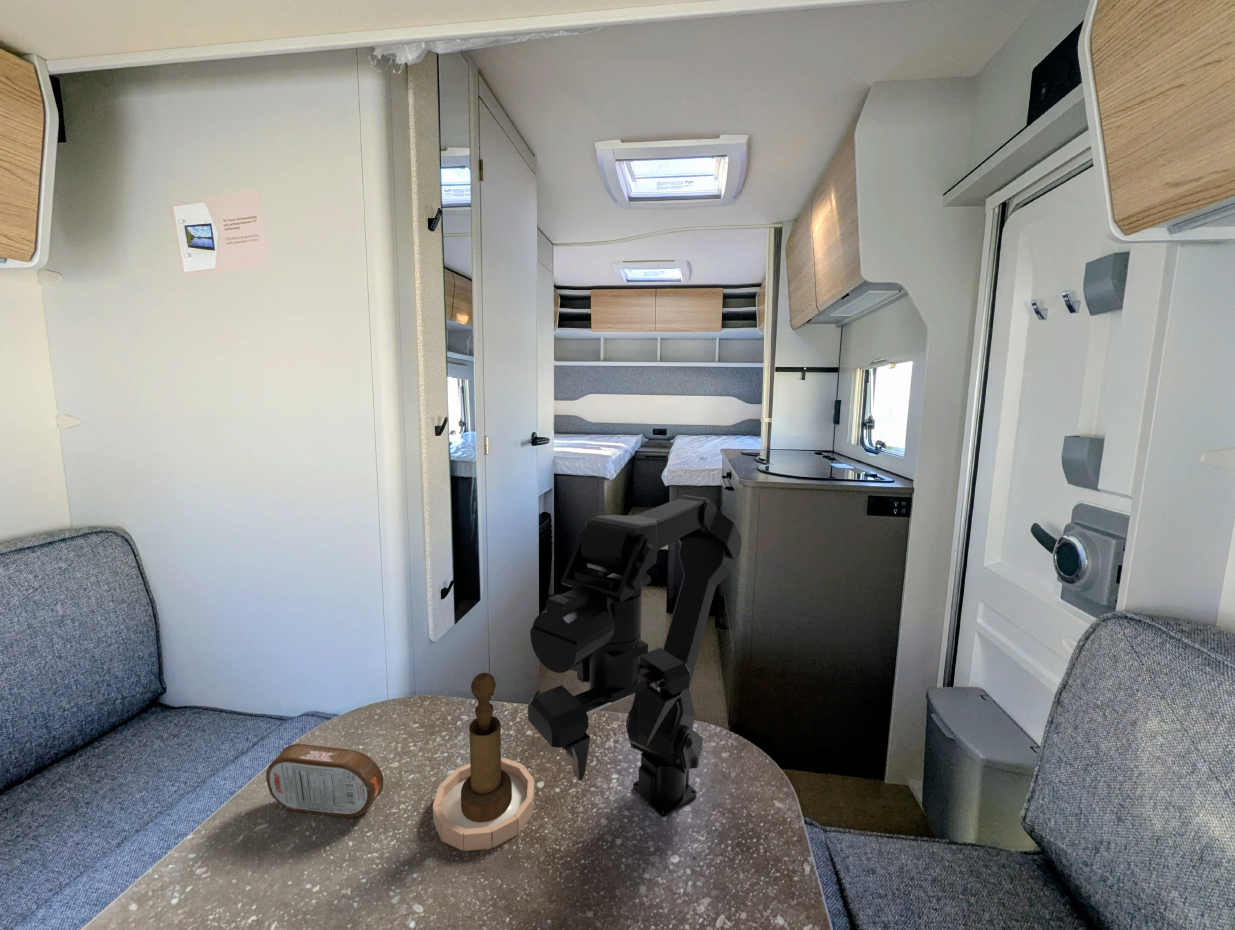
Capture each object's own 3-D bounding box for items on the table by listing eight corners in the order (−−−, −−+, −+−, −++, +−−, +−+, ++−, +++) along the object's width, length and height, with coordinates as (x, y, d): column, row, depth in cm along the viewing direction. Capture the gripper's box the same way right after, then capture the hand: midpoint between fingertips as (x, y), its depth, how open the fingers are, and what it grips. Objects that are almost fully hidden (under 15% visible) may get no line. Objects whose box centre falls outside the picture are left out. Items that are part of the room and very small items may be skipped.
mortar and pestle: (503, 824, 63) (500, 692, 60) (453, 821, 63) (447, 689, 60) (517, 783, 69) (514, 662, 67) (471, 781, 70) (467, 660, 67)
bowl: (509, 759, 75) (509, 746, 75) (550, 816, 65) (550, 801, 65) (422, 798, 68) (422, 784, 67) (454, 869, 58) (453, 852, 57)
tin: (386, 805, 66) (383, 747, 65) (372, 825, 63) (368, 765, 62) (282, 793, 68) (278, 737, 67) (264, 812, 65) (258, 753, 64)
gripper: (635, 589, 67) (632, 697, 69) (504, 626, 56) (506, 753, 58) (695, 620, 58) (690, 742, 60) (554, 670, 47) (554, 818, 49)
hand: (612, 760), depth 57 cm, fingers open, 9 cm apart
